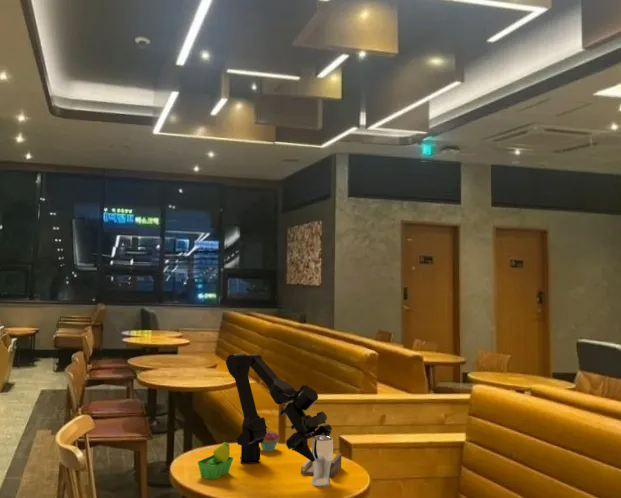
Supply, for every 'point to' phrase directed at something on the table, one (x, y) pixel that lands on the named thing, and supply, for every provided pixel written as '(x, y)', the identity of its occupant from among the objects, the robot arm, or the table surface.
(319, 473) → the beer glass
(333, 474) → the grey bracket
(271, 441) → the cupcake
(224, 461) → the fruit basket
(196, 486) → the table surface
